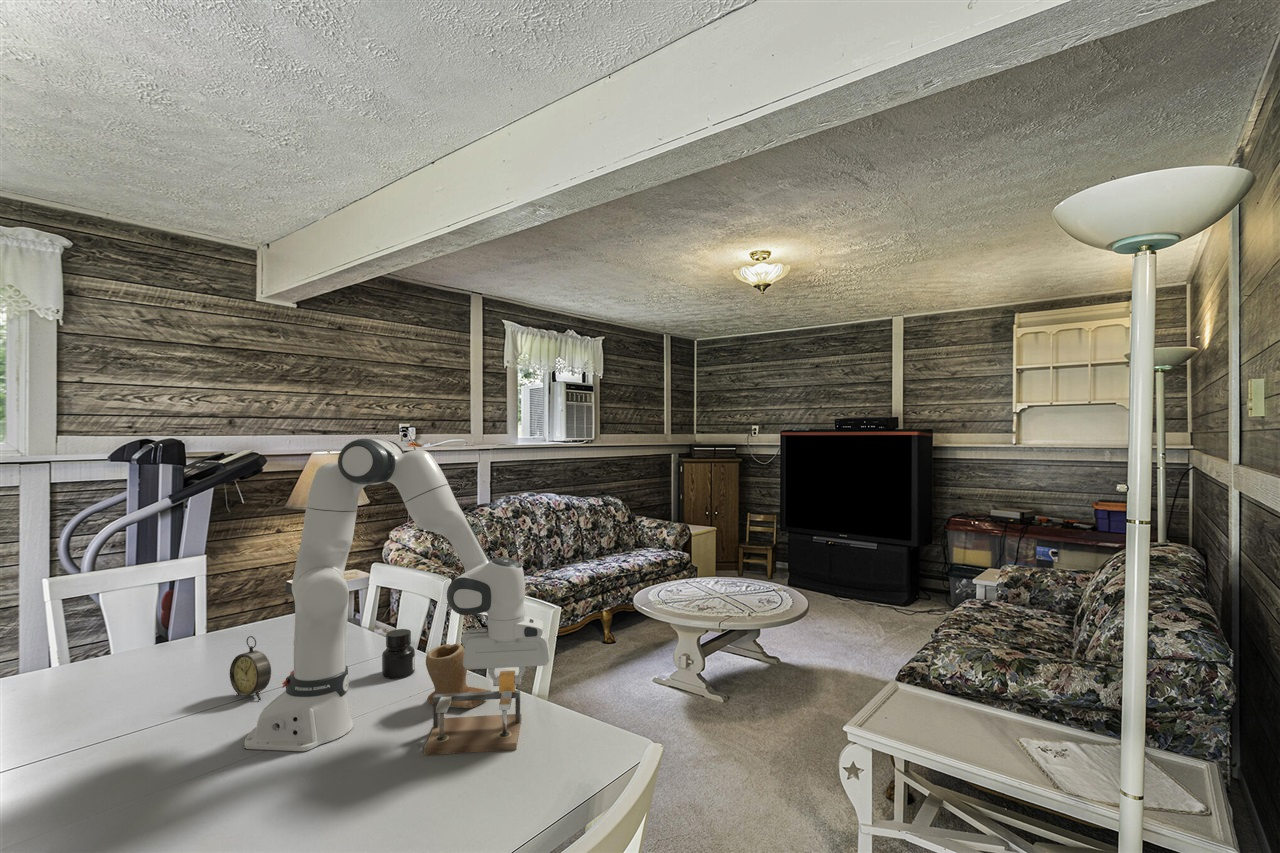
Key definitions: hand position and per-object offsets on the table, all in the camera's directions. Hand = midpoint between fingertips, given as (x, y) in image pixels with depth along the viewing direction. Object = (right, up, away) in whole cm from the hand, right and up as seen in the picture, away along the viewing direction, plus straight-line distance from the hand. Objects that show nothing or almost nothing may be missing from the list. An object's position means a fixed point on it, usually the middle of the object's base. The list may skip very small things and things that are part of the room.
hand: (507, 684), depth 147 cm
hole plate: (-7, -11, -4) cm, 13 cm away
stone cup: (-17, -11, +13) cm, 24 cm away
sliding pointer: (0, -8, -3) cm, 9 cm away
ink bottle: (-39, -11, +33) cm, 52 cm away
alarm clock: (-72, -11, +18) cm, 75 cm away
